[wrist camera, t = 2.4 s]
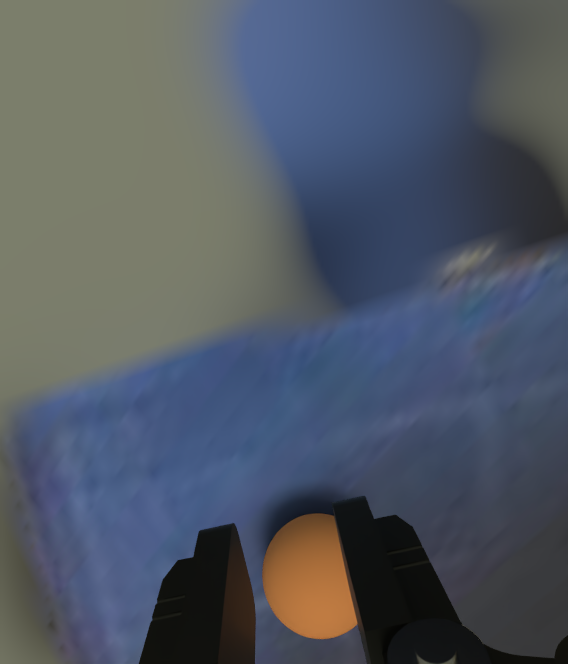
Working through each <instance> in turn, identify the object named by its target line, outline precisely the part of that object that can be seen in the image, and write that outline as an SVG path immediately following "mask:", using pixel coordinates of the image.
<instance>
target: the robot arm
mask: <svg viewBox="0 0 568 664" xmlns="http://www.w3.org/2000/svg"><path fill="white" fill-rule="evenodd" d="M332 508H333V513H334V518H335V523H336V528H337V532H338V537H339V542H340V547H341V552H342V557H343V562H344V566H345V571H346V576H347V580H348V585H349V589H350V594H351V598H352V602H353V606H354V610H355V615H356V619H357V623H358V627H359V631H360V635H361V640H362V644H363V648H364V652H365V656H366V660H367V664H568V636H566V637H565V638H564V639H563V640H562V641H561V642H560V643H559V645H558V647H557V649H556V652H555V658H543V657H530V656H519V655H512V654H508V653H504V652H501V651H498V650H495V649H493V648H490V647H489V646H487V645H485V644H483V643H482V641H481V640H480V639H479V637H478V636H477V635H476V634H475V633H473V632H472V631H471V630H470V629H468V628H467V627H465V626H463V625H462V623H461V622H460V620H459V618H458V616H457V614H456V612H455V610H454V608H453V606H452V604H451V602H450V600H449V598H448V596H447V594H446V592H445V590H444V588H443V586H442V584H441V582H440V580H439V578H438V576H437V574H436V572H435V570H434V568H433V566H432V564H431V563H430V562H429V558H428V556H427V554H426V552H425V550H424V548H422V545H421V542H420V540H419V538H418V537H417V535H416V533H415V531H414V529H413V527H412V526H410V525H409V524H408V523H406V522H405V521H404V520H402V519H401V518H399V517H398V516H397V515H392V516H387V517H382V518H378V519H374V518H373V515H372V513H371V510H370V507H369V505H368V502H367V500H366V497H365V496H361V497H356V498H352V499H347V500H342V501H337V502H333V503H332ZM152 619H153V620H152V621H151V623H150V626H149V630H148V633H147V637H146V640H145V644H144V647H143V651H142V654H141V658H140V661H139V664H255V624H256V617H255V604H254V597H253V591H252V587H251V582H250V578H249V574H248V570H247V566H246V562H245V558H244V555H243V551H242V547H241V543H240V539H239V535H238V531H237V528H236V526H235V524H234V523H232V524H228V525H223V526H218V527H213V528H209V529H204V530H200V531H199V533H198V538H197V543H196V547H195V552H194V557H192V558H187V559H182V560H178V561H177V562H176V563H175V565H174V566H173V567H172V568H171V570H170V571H169V572H168V574H167V575H166V576H165V578H164V579H163V581H162V584H161V588H160V591H159V595H158V598H157V604H156V605H155V609H154V612H153V616H152Z"/></svg>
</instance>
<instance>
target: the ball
mask: <svg viewBox="0 0 568 664" xmlns="http://www.w3.org/2000/svg"><path fill="white" fill-rule="evenodd" d="M262 578H263V587H264V591H265V595H266V598H267V600H268V603H269V605H270V607H271V609H272V610H273V612H274V614H275V615H276V616H277V617H278V619H279V620H280V621H281V622H282V623H283V624H284V625H285V626H286V627H288V628H289V629H291V630H292V631H294V632H296V633H297V634H299V635H302V636H305V637H309V638H314V639H328V638H333V637H337V636H339V635H342V634H344V633H346V632H348V631H349V630H351V629H352V628H353V627H355V626H356V625H357V624H358V623H357V619H356V615H355V610H354V606H353V602H352V598H351V594H350V589H349V585H348V580H347V576H346V571H345V566H344V562H343V557H342V552H341V547H340V542H339V537H338V532H337V528H336V523H335V518H334V516H332V515H328V514H321V513H314V514H307V515H303V516H300V517H297V518H295V519H293V520H291V521H290V522H288V523H287V524H286V525H285V526H283V527H282V528H281V529H280V530H279V531H278V532H277V533H276V535H275V536H274V538H273V539H272V541H271V542H270V544H269V546H268V548H267V551H266V554H265V558H264V562H263V572H262Z"/></svg>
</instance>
